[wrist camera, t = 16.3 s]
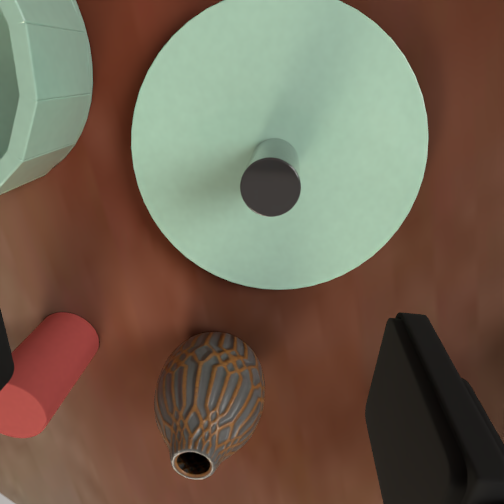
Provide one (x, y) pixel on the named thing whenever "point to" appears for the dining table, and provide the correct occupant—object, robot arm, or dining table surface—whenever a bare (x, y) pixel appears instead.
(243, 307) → the dining table surface
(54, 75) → the pot
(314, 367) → the dining table surface
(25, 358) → the red cylinder
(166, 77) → the lid
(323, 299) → the dining table surface
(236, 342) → the vase
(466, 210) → the dining table surface
